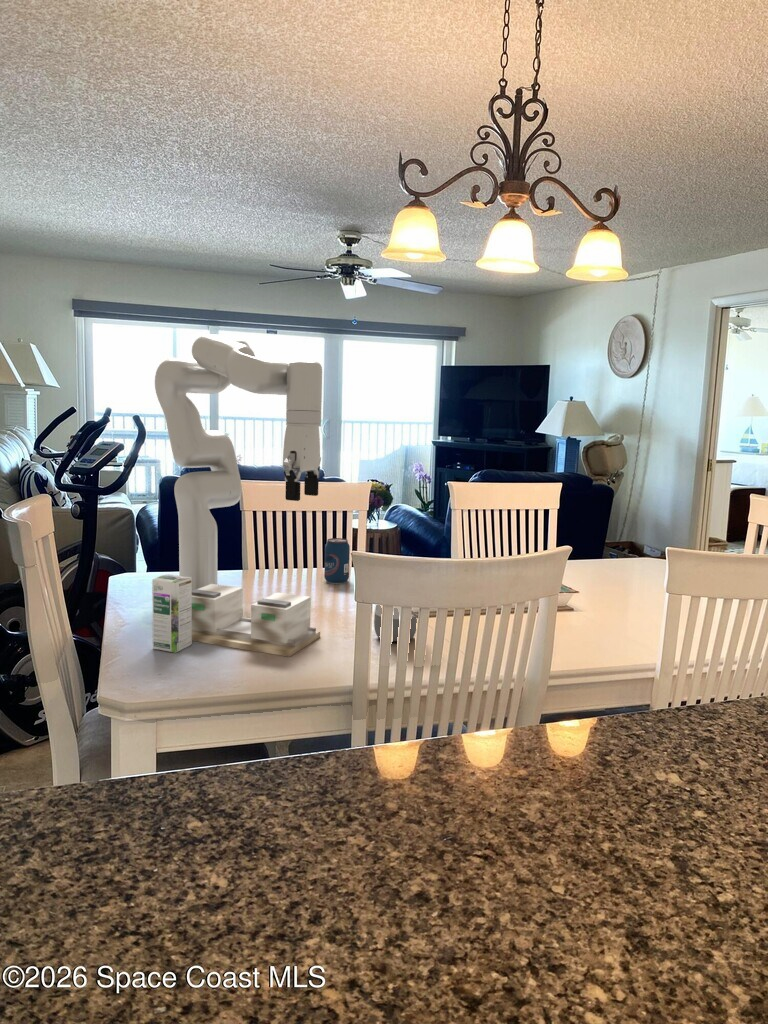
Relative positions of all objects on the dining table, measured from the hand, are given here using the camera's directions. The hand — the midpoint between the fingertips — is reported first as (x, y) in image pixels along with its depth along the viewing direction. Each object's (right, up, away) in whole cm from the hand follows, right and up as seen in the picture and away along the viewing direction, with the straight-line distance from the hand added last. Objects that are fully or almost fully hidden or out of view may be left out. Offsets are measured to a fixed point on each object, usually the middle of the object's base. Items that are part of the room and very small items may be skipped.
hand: (302, 497), depth 161 cm
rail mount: (-11, -30, -4) cm, 32 cm away
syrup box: (-25, -31, -12) cm, 41 cm away
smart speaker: (+20, -31, -2) cm, 37 cm away
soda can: (+5, -23, +47) cm, 52 cm away
